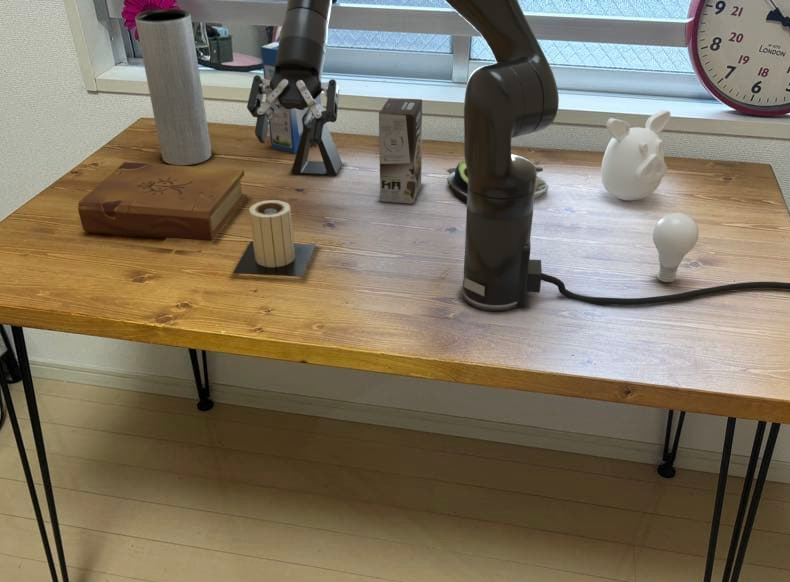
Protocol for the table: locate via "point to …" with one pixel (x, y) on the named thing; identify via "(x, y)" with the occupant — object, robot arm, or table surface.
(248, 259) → the stand
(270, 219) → the wooden cup
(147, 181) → the diary
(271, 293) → the table surface
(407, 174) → the coffee box
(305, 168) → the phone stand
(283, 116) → the milk carton
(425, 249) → the table surface
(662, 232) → the lightbulb
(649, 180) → the piggy bank
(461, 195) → the salad plate
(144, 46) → the vase
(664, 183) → the table surface
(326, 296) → the table surface
